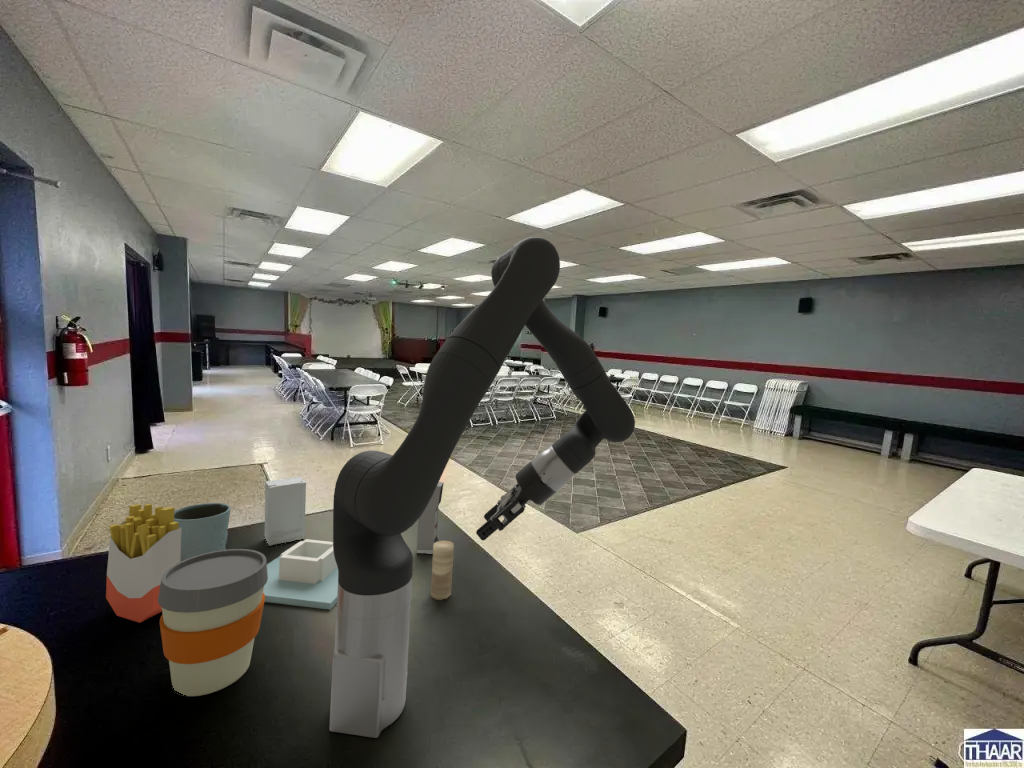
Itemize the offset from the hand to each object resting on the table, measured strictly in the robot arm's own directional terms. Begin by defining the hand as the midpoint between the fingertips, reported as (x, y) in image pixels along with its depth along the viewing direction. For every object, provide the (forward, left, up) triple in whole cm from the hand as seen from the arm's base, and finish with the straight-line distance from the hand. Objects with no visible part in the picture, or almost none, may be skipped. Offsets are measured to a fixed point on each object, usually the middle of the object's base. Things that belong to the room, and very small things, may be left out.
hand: (483, 527), depth 81 cm
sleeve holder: (+1, +36, -14) cm, 38 cm away
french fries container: (-16, +56, -14) cm, 60 cm away
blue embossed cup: (0, +60, -14) cm, 61 cm away
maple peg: (0, +8, -14) cm, 16 cm away
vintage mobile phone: (+18, +16, -14) cm, 28 cm away
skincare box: (+16, +52, -14) cm, 56 cm away
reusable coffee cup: (-26, +34, -14) cm, 45 cm away
